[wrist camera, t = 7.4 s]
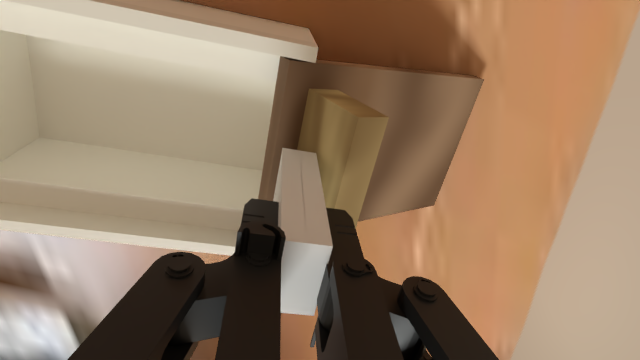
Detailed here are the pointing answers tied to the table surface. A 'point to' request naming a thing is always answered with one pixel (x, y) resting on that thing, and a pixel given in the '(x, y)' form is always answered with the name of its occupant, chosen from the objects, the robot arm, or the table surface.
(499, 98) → the table surface
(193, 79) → the box
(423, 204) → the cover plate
